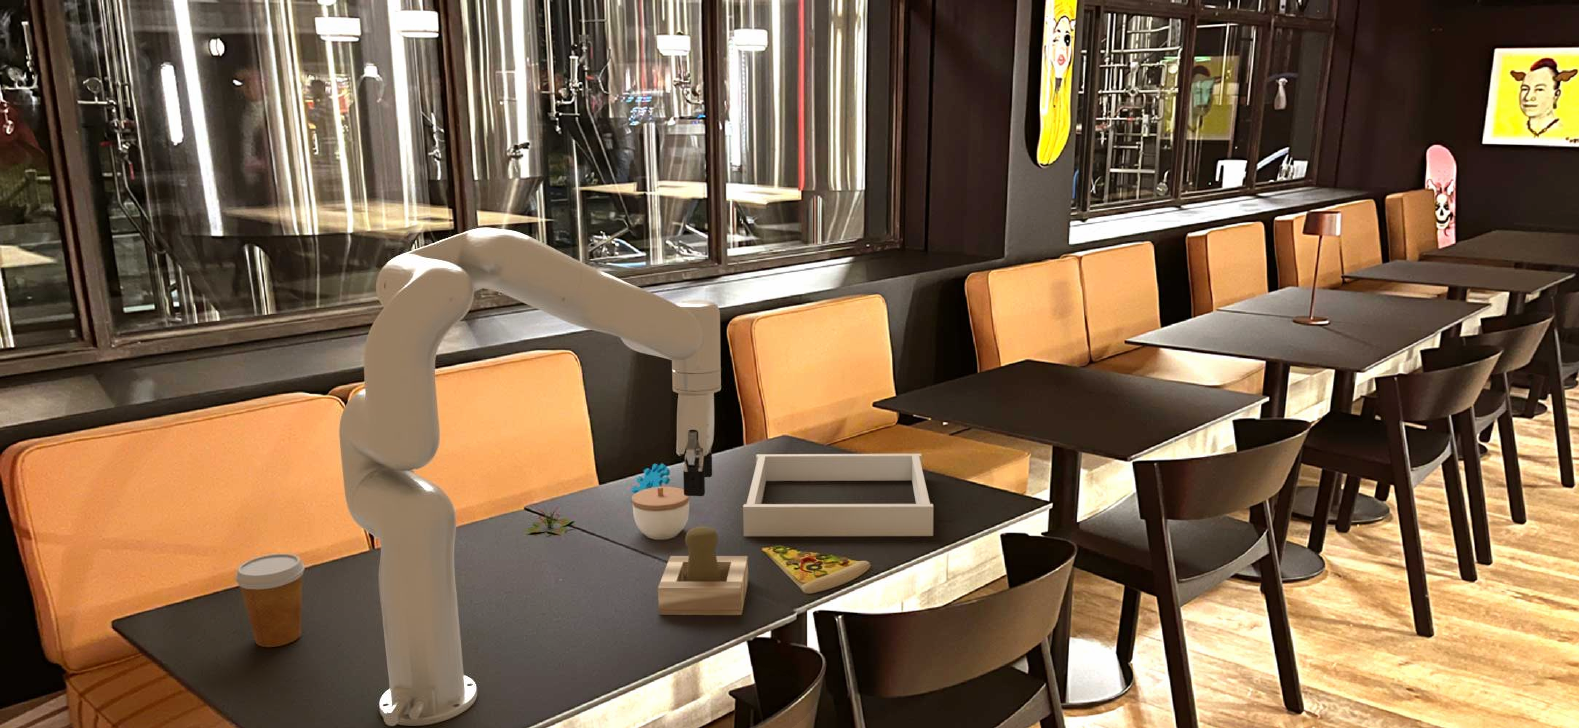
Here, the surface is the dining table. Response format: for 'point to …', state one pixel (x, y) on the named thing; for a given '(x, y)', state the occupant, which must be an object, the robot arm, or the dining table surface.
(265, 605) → the disposable coffee cup
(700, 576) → the cork
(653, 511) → the lidded jar
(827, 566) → the pizza slice
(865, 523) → the white rectangular frame
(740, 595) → the caddy
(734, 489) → the dining table surface
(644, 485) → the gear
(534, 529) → the lily flower
